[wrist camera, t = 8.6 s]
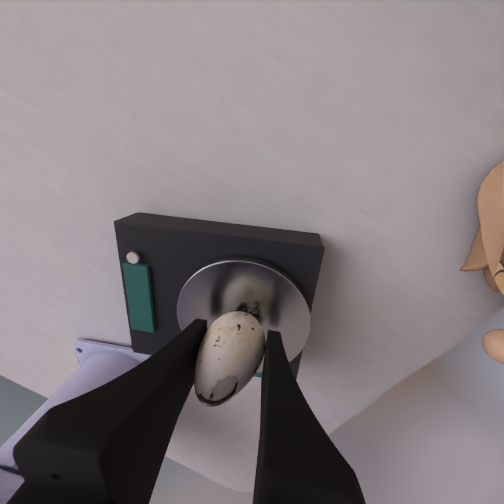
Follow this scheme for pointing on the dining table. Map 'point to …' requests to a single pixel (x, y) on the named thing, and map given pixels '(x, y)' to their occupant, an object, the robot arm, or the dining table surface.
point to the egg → (228, 357)
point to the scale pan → (248, 299)
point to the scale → (198, 266)
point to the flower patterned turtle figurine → (490, 248)
